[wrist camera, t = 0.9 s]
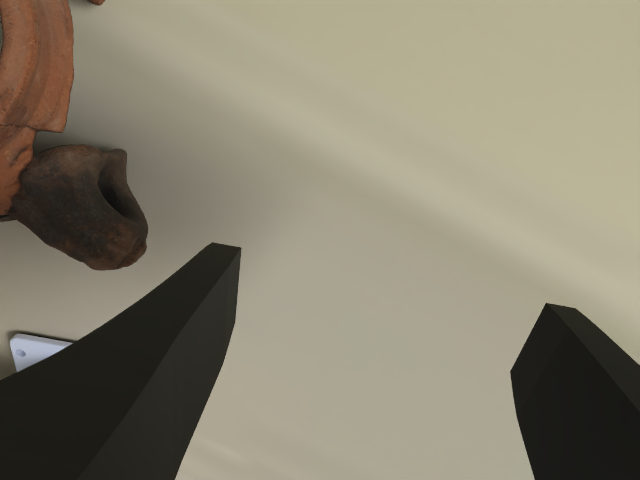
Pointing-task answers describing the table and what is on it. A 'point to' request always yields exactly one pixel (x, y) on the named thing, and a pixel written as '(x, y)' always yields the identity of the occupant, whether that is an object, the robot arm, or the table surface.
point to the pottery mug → (60, 162)
